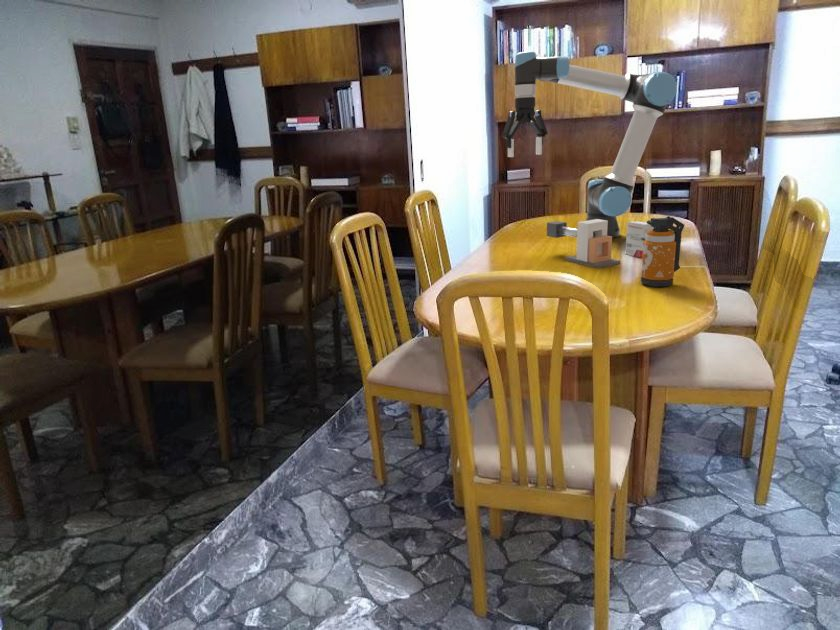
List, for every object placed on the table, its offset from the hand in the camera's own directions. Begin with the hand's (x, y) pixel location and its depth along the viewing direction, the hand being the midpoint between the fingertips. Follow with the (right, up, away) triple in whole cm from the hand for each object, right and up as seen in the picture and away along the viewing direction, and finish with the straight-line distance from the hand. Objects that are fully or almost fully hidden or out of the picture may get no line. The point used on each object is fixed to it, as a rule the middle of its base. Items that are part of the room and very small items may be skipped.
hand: (524, 155), depth 236 cm
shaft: (+14, -34, -15) cm, 39 cm away
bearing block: (+19, -42, -21) cm, 51 cm away
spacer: (+21, -38, -26) cm, 51 cm away
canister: (+31, -52, -52) cm, 80 cm away
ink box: (+38, -40, -16) cm, 57 cm away
